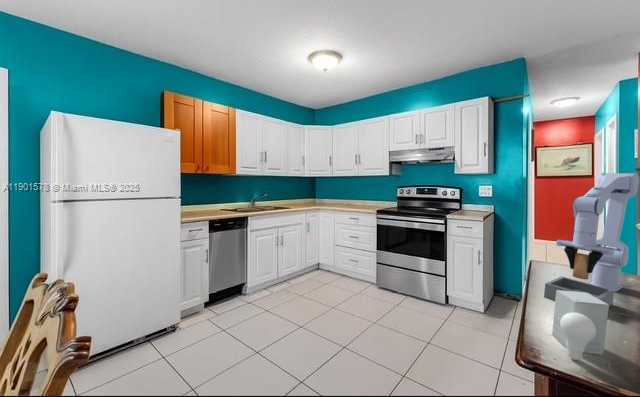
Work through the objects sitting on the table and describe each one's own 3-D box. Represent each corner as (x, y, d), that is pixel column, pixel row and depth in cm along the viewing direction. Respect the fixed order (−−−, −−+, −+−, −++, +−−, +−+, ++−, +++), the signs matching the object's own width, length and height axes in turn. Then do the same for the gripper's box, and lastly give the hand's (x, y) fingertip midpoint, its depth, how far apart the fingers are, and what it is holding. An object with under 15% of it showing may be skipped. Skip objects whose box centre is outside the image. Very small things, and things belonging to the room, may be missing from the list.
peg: (575, 274, 100) (577, 252, 100) (590, 278, 97) (592, 255, 96) (570, 276, 98) (573, 253, 98) (585, 280, 95) (588, 257, 94)
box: (560, 289, 106) (561, 276, 106) (612, 304, 94) (614, 290, 94) (543, 297, 99) (545, 283, 98) (597, 314, 87) (599, 299, 86)
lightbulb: (584, 371, 61) (590, 323, 60) (551, 355, 67) (556, 310, 66) (597, 363, 64) (602, 317, 63) (564, 348, 70) (568, 305, 69)
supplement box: (604, 355, 67) (610, 305, 66) (568, 351, 69) (574, 301, 67) (582, 338, 74) (587, 292, 73) (550, 334, 76) (555, 289, 75)
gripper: (554, 228, 100) (550, 265, 102) (611, 237, 88) (606, 279, 89) (562, 227, 104) (558, 263, 105) (618, 235, 92) (613, 275, 93)
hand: (581, 270), depth 98 cm, fingers closed on peg, 4 cm apart
